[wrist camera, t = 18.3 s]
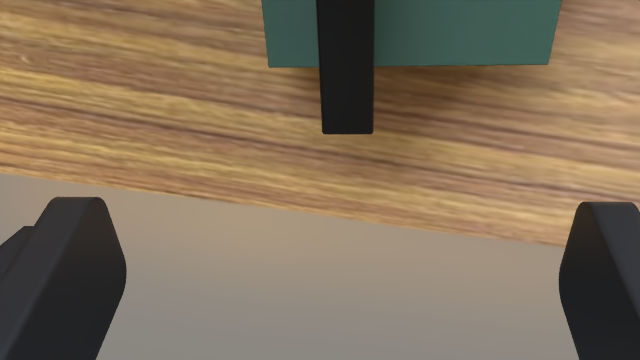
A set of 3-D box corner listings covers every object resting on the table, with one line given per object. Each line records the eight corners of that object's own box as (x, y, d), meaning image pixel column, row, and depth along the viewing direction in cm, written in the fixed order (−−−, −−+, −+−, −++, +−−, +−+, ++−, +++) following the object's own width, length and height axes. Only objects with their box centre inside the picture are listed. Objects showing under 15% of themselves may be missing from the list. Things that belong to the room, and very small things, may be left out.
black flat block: (372, 73, 22) (373, 139, 19) (328, 74, 22) (321, 140, 19) (374, -123, 18) (376, -83, 15) (320, -121, 18) (310, -81, 15)
